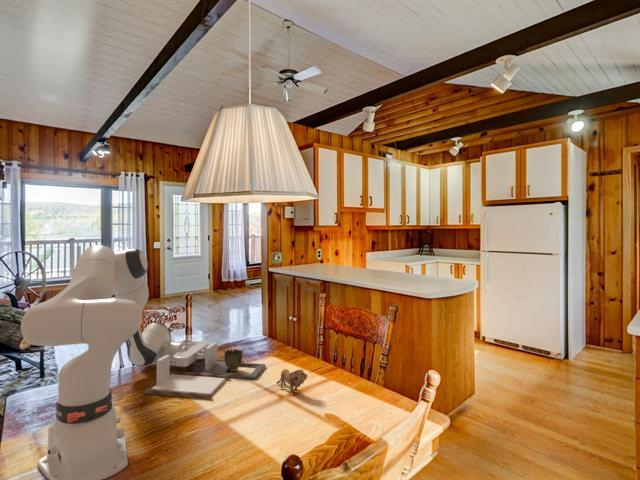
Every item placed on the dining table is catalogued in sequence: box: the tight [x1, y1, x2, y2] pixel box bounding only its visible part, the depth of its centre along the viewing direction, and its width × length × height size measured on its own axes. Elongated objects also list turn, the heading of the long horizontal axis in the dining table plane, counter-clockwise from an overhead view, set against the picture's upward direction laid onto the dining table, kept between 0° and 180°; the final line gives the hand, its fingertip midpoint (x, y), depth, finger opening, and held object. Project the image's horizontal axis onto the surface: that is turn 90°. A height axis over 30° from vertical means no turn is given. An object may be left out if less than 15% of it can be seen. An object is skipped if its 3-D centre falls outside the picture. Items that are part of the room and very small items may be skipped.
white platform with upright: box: [150, 355, 226, 395], centre depth 130 cm, size 22×13×10 cm, turn 82°
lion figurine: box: [275, 368, 308, 394], centre depth 129 cm, size 15×5×9 cm, turn 48°
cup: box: [223, 348, 244, 373], centre depth 146 cm, size 8×7×8 cm
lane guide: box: [144, 358, 245, 400], centre depth 139 cm, size 24×33×2 cm
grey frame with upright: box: [201, 341, 266, 380], centre depth 146 cm, size 22×13×10 cm, turn 82°
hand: (209, 355), depth 147 cm, fingers closed, pressing on grey frame with upright
